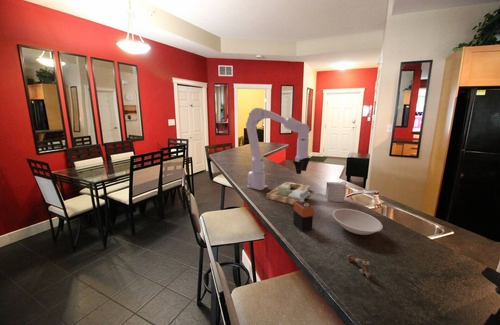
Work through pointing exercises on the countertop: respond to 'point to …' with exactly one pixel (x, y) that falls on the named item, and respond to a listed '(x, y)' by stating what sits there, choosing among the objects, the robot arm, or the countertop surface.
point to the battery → (303, 215)
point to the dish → (357, 221)
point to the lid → (299, 194)
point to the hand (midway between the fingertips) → (301, 172)
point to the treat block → (284, 190)
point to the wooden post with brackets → (360, 261)
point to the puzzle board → (275, 196)
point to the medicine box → (335, 192)
